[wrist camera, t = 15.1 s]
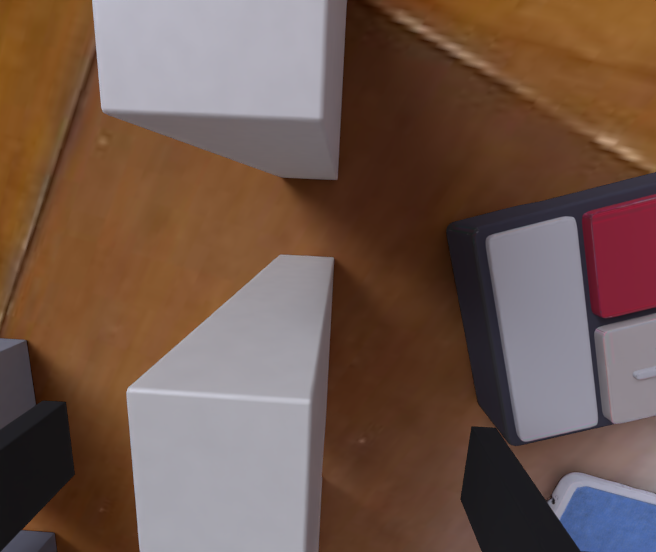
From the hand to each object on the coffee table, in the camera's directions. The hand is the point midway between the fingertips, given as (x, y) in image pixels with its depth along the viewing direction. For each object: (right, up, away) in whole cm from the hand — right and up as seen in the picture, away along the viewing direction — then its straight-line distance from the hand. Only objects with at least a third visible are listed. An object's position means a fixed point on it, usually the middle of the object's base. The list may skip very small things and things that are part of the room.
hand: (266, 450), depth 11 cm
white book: (+1, +2, +9) cm, 9 cm away
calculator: (+17, +5, +8) cm, 19 cm away
